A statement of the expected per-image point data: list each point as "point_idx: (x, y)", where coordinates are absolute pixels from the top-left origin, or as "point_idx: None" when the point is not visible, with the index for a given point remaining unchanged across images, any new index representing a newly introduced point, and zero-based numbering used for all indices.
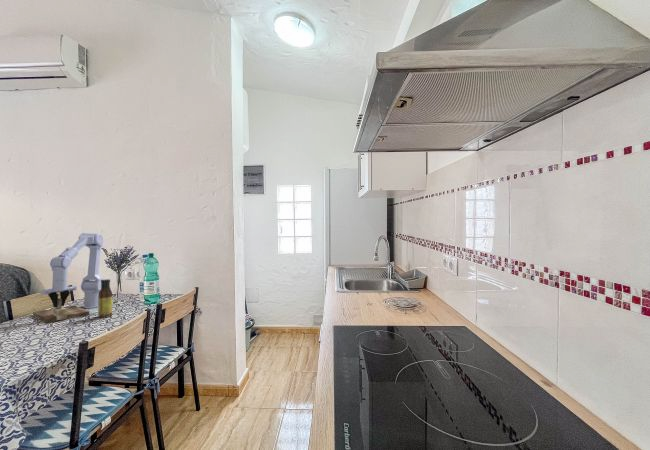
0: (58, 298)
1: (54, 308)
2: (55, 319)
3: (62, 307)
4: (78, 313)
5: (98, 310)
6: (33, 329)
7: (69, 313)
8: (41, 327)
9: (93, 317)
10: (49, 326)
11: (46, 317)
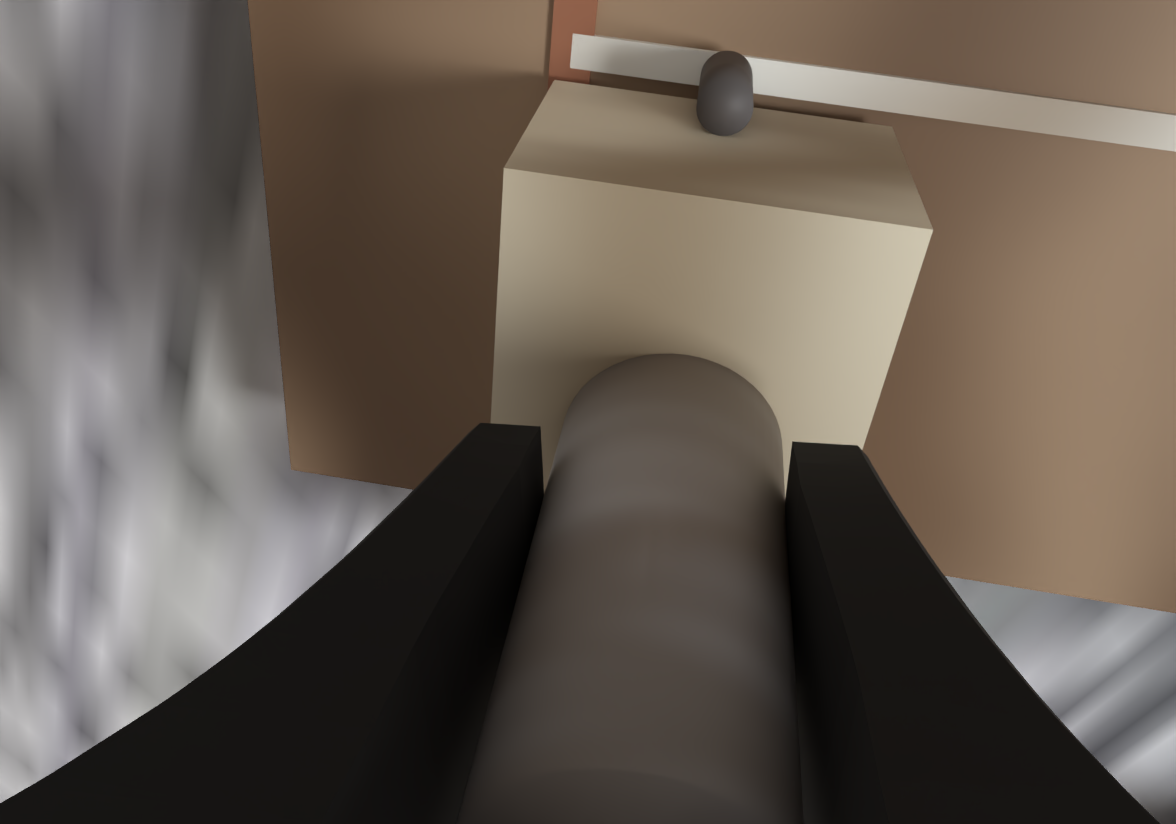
0: (655, 792)
1: (569, 309)
2: None
3: (863, 404)
4: (1105, 595)
5: None
6: (66, 634)
7: (976, 421)
8: (191, 630)
9: (1169, 788)
10: None
11: (327, 333)
